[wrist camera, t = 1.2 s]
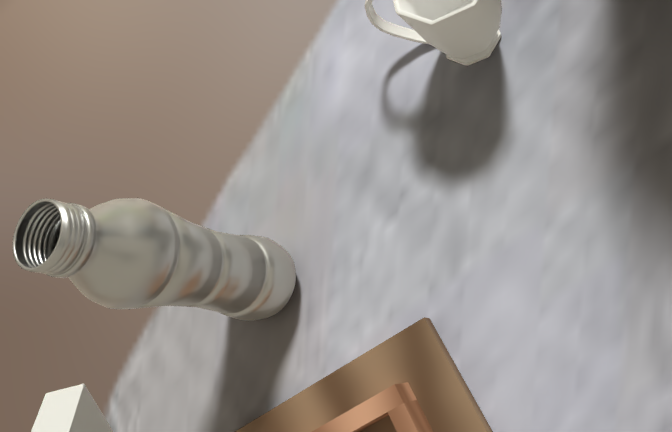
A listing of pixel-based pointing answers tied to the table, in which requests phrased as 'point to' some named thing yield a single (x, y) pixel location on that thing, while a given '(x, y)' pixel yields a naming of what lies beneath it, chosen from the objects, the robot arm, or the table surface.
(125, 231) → the plastic bottle
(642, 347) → the table surface
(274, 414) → the collar board
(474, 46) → the cup
